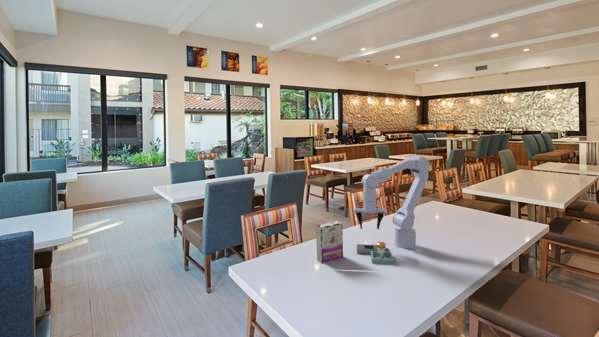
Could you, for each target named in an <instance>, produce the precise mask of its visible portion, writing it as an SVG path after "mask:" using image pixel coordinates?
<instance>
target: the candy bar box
mask: <svg viewBox="0 0 599 337" xmlns="http://www.w3.org/2000/svg"><path fill="white" fill-rule="evenodd" d="M315 240H316V243H315V244H316V260H317V262H319V263H321V264H324V263H326V262H327V263H328V262H331V261H334V260H338V259H342V258H344V243H343V242H344V241H343V222H341V221H338V220H334V221H328V222H323V223H318V224H316V225H315Z"/></svg>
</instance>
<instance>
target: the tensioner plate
mask: <svg viewBox="0 0 599 337" xmlns="http://www.w3.org/2000/svg"><path fill="white" fill-rule="evenodd" d="M371 251H378V247H377V244H359V243H357V244H356V255H371ZM385 251H388V252H391V250H390V249H389V248H387V247H385Z"/></svg>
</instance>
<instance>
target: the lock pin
mask: <svg viewBox="0 0 599 337" xmlns="http://www.w3.org/2000/svg"><path fill="white" fill-rule="evenodd" d="M376 245H377V247H378V254H377V256H376V257H377V258H380V259H386V256H385V248H387V247H386V242H383V241H378V242H376Z"/></svg>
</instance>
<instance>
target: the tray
mask: <svg viewBox="0 0 599 337" xmlns="http://www.w3.org/2000/svg"><path fill="white" fill-rule="evenodd" d="M377 254H378V251H371V254H370V261H371V264H384V265H385V264H387V265H394V263H395V259H394V256H393V253H392V251H390V252H388V251H385V257H389V258H384V259H380V258H375V256H376V257H377Z"/></svg>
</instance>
